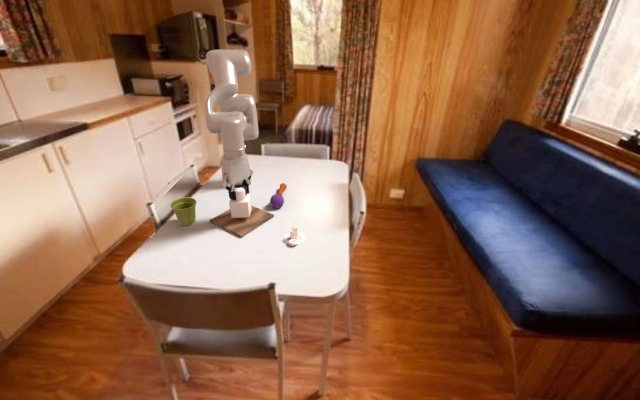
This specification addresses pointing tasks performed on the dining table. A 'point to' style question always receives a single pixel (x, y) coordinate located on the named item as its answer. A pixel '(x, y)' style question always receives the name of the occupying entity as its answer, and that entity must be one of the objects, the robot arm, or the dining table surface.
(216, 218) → the walnut board
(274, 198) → the purple maraca
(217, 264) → the dining table surface
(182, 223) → the plant pot
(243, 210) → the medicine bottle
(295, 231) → the white rounded piece
